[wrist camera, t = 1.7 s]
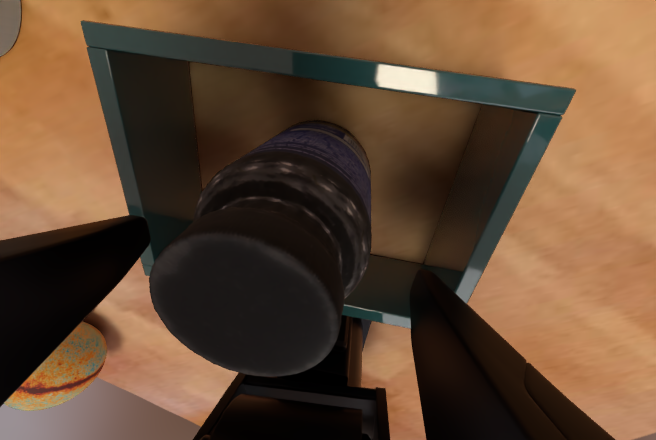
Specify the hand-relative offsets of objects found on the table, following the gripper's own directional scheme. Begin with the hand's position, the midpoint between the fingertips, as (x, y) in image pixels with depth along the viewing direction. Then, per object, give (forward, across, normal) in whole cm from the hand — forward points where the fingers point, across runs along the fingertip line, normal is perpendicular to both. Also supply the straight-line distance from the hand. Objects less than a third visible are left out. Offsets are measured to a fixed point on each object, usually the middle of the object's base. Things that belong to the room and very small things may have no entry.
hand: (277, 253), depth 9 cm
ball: (+9, +21, +20) cm, 30 cm away
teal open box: (+8, 0, 0) cm, 8 cm away
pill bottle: (+8, 0, 0) cm, 9 cm away
